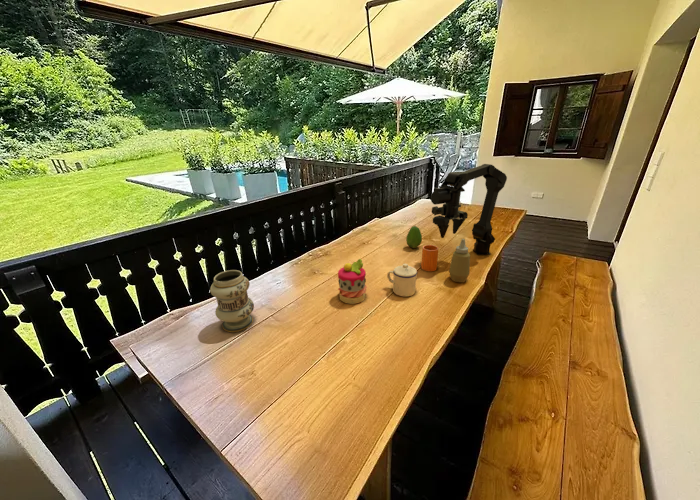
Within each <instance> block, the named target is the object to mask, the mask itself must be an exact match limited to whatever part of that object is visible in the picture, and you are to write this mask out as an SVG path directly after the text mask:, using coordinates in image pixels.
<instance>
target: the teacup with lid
mask: <svg viewBox="0 0 700 500" xmlns="http://www.w3.org/2000/svg"><path fill="white" fill-rule="evenodd" d="M390 274H393V278H391V275H390ZM417 275H418V270H417V268H415V267H413V266H411V265H409V264H408V263H403V264H402V265H397V266H395V267H394V268H393V270H389V271H388V272H387V275H386V277H387V279H388V282H390V283H392V291H393V293H394V294H395V295H397V296H399V297H412V296H413V295H414V294H416V288H417V287H416V286H417Z"/></svg>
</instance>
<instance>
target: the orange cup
mask: <svg viewBox="0 0 700 500" xmlns="http://www.w3.org/2000/svg"><path fill="white" fill-rule="evenodd" d="M439 250H440V248H439V246H437V245H434V244H424V245H423V246H422V249H421V263H420V264H421V265H420V268H421V270H423V271H425V272H435V271H437V268H438V258H439Z"/></svg>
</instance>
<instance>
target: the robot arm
mask: <svg viewBox="0 0 700 500" xmlns="http://www.w3.org/2000/svg"><path fill="white" fill-rule="evenodd" d="M481 177H483V178H484V179H485V183H484V186H485V188H486V194H485V197H484V201H483V205H482V209H481V212H480V217H479V220H478V221H477V222H475V223H473V225H472V229H471V233H472V234H471V235H472V238H473V240H475V242H474V245H473V248H472V250H473V252H474V253H475V254H476V255H479V256H480V255H481V256H482V255H483V256H484V255H488V256H489V255H491V252H490V249H491V245H492V244H493V243H494V242H495V240H496V238H495V237H494V235H493V225H492V223H491V221H492V218H493V214H494V211H495V207H496V204H497V199H498V196H499V193H500V192H501V191H502V190H503V189H504V188H505V184H506V182H507V179H508V176H507V174H506V173H505V172H503V171H502V170H500V169H499V168H497V167H495V165H493V164H492V163H491V164H490V163H483V164H481V165H479V166H475V167H472V168H469V169H467V170H463V171H450V172H448V173H447V175H446V177H445V178H444V180H443V182H442V183H441V185H440V186H439V187H434V191H432V192H431V194H430V202H431V203H432V205H435V206H432V207H431V214H432V215H433V216H434V217H432V223H433V224H434V225H436V226H437V228H438V230H439V235H440V238H441V239H444V238H445V236H446V234H447V231H448V229H449V227H450V221H452V234H453V235H456V234H457V232H458V231H459V229H460V227H461V226H462V225H463V223H464V222H465V221H466V220H467V219H468V215H469V214H468V213H467V211H463V210H459V209H460V208H461V206H462V204H460V201H461V194H462V193H463V192H465V191H466V190H465V188H464V186H466V185H467V184H468V182H470V181H472V180H474V179H478V178H481ZM438 205H442V206H440V207H439V206H438Z"/></svg>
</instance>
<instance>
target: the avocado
mask: <svg viewBox="0 0 700 500" xmlns="http://www.w3.org/2000/svg"><path fill="white" fill-rule="evenodd" d="M422 241H423V237H422V232H421V229H420V228H419V227H418V226H417V225H412V226H411V227H410V229H409V231H408V232H407V235H406V239H405V242H406V244H407V247H409V248H411V249H417V248H418V247H420V245H421V244H422Z"/></svg>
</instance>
